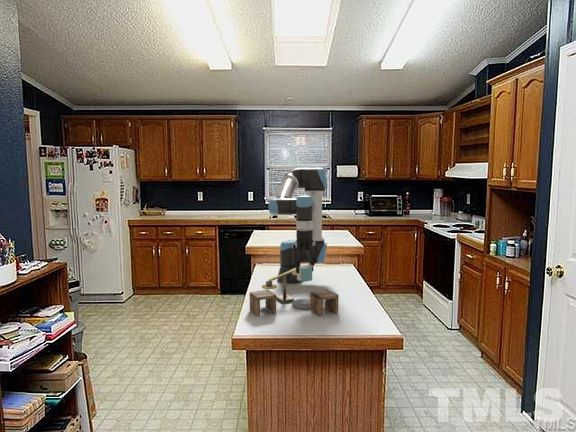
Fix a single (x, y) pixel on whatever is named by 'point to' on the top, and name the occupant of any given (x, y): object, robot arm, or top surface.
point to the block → (306, 273)
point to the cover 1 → (262, 295)
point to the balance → (284, 297)
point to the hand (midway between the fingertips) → (304, 279)
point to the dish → (301, 304)
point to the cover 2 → (318, 298)
